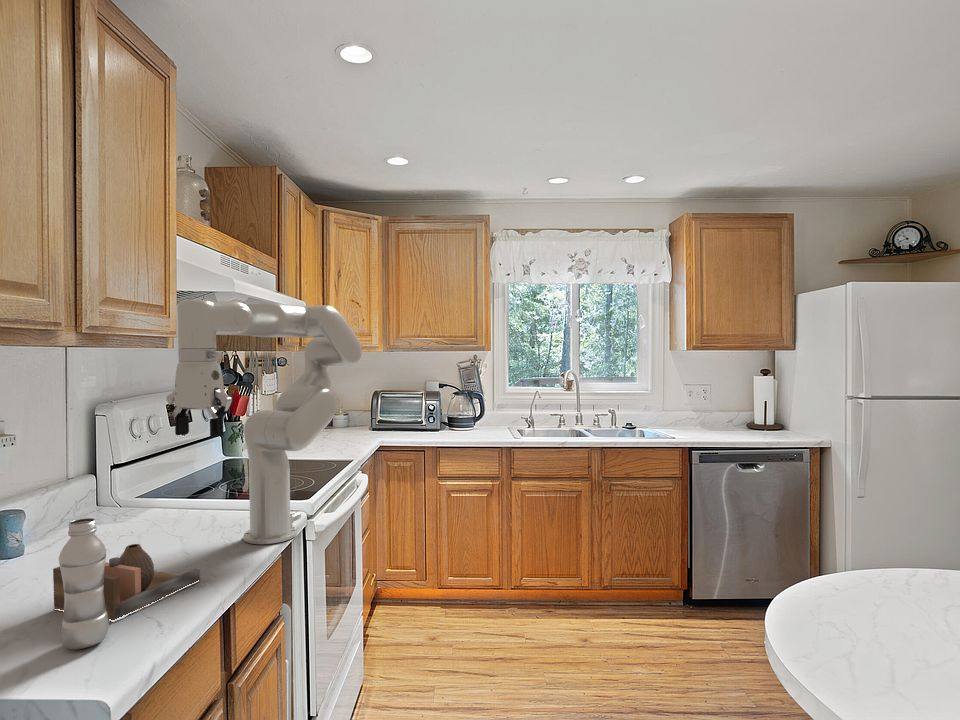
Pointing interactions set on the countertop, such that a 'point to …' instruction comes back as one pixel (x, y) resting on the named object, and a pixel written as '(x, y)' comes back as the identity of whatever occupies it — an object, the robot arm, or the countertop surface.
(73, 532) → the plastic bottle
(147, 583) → the vase
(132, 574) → the pusher plate
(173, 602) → the countertop surface
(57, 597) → the pusher lane
